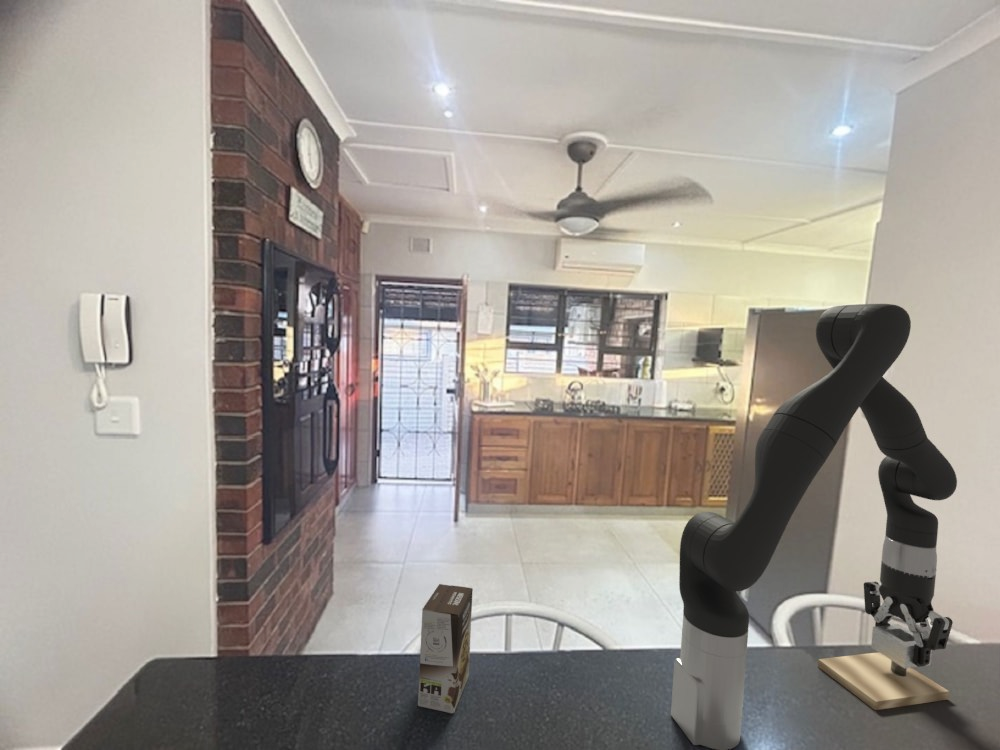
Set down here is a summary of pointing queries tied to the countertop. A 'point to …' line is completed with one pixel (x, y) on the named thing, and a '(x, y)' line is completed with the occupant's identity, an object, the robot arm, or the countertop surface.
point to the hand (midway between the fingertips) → (900, 653)
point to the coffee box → (445, 647)
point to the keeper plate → (882, 681)
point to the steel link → (895, 644)
